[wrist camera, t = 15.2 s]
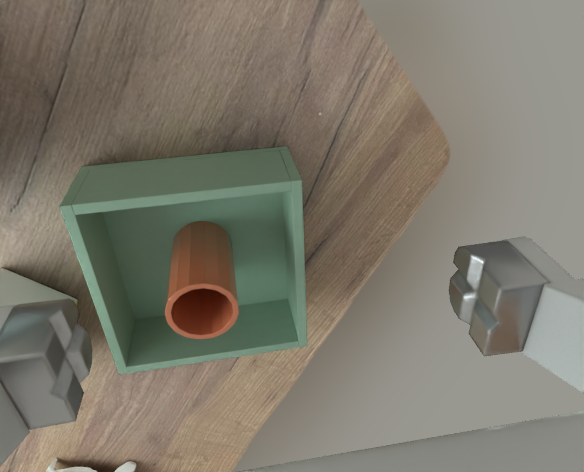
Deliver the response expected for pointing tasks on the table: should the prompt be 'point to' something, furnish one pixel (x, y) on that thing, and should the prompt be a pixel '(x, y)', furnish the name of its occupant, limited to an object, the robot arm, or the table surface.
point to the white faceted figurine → (127, 468)
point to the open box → (158, 242)
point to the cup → (201, 282)
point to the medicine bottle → (25, 290)
